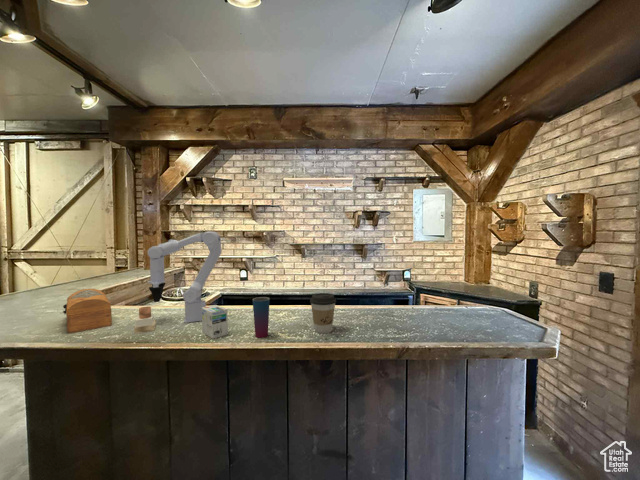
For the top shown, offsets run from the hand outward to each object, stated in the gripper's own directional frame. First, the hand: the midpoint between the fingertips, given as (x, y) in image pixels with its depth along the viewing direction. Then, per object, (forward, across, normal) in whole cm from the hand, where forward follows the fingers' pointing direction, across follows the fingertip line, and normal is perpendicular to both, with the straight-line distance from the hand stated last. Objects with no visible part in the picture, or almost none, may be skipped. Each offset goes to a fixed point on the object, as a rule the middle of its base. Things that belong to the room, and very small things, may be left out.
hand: (157, 300), depth 127 cm
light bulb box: (+11, +28, +23) cm, 38 cm away
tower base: (+11, +9, -4) cm, 15 cm away
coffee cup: (+10, +45, +65) cm, 80 cm away
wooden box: (+11, -16, -31) cm, 36 cm away
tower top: (+8, +10, -4) cm, 13 cm away
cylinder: (+5, +10, -4) cm, 11 cm away
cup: (+10, +39, +40) cm, 57 cm away
